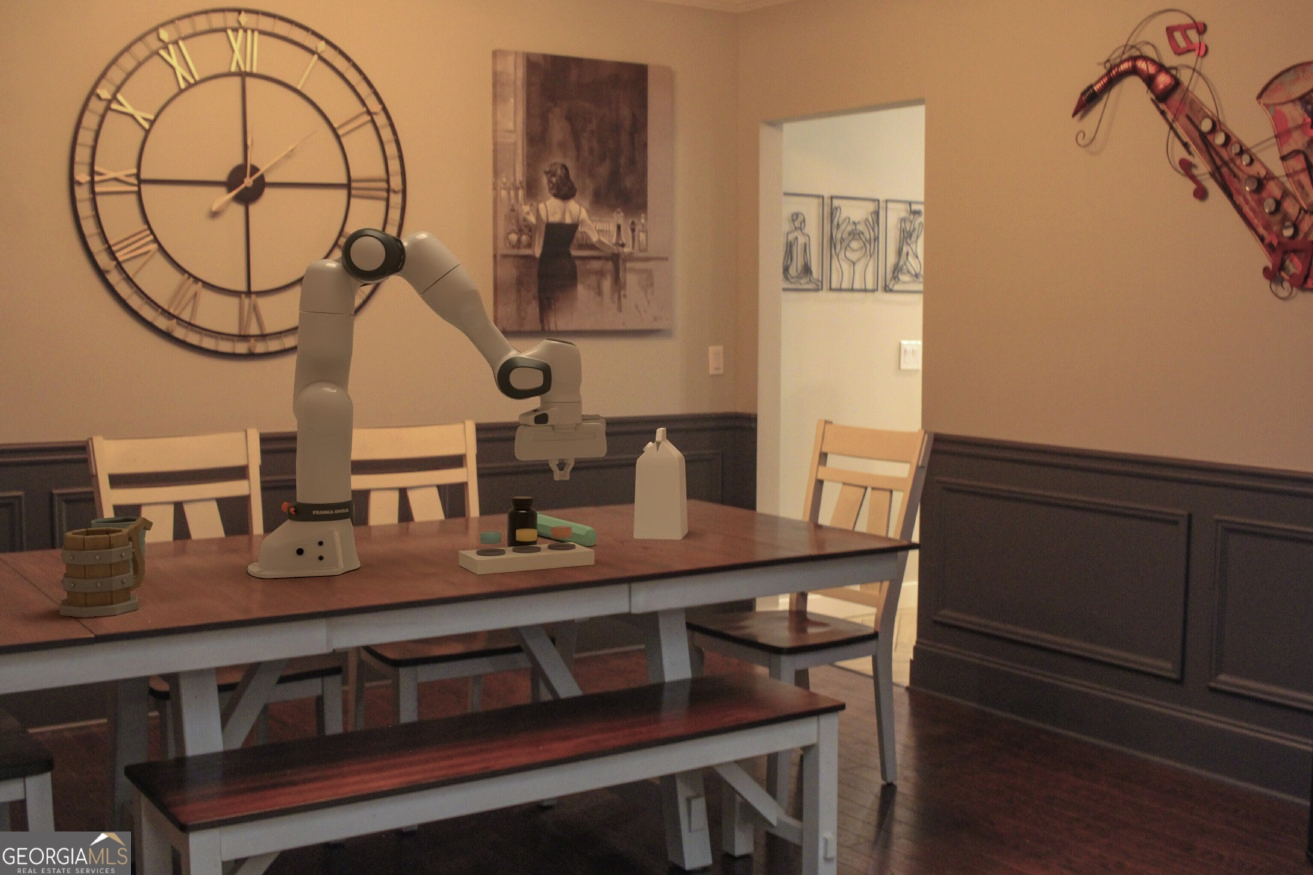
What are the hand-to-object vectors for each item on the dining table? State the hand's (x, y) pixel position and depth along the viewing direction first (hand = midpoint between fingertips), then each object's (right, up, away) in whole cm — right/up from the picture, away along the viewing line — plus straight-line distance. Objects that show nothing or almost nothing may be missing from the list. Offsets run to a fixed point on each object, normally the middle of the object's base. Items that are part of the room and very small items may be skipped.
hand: (561, 479), depth 273 cm
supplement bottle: (-10, -17, +17) cm, 25 cm away
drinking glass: (-86, -19, -19) cm, 90 cm away
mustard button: (-7, -13, -3) cm, 15 cm away
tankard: (-77, -21, -43) cm, 91 cm away
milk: (+21, -15, +38) cm, 46 cm away
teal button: (-14, -13, -6) cm, 20 cm away
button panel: (-7, -18, -2) cm, 19 cm away
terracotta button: (0, -12, +1) cm, 12 cm away
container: (-2, -16, +31) cm, 34 cm away
